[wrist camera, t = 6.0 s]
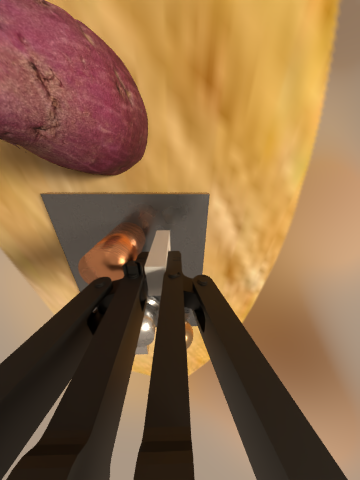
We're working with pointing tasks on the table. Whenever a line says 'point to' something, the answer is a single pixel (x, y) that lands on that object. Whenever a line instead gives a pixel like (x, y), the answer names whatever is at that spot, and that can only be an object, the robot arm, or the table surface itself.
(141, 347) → the lever
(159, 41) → the table surface
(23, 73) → the vegetable
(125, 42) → the table surface
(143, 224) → the base
